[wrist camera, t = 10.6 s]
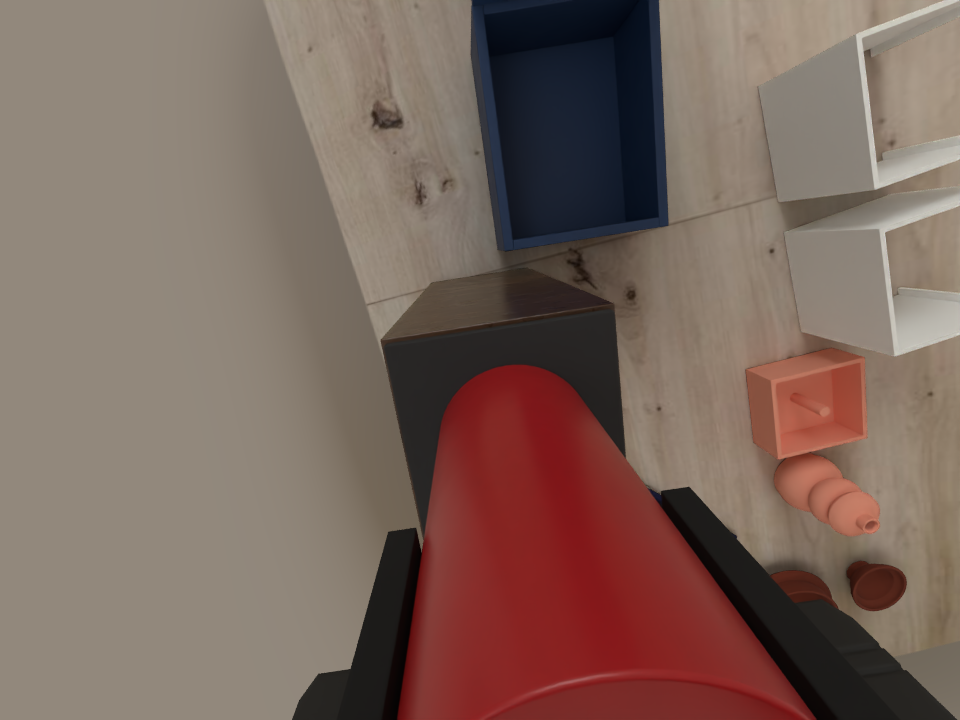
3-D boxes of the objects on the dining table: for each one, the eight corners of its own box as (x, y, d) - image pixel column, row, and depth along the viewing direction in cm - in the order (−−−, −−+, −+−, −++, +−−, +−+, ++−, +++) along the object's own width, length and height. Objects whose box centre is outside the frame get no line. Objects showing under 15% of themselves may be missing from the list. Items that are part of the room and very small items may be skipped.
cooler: (631, 228, 45) (668, 225, 37) (497, 249, 45) (504, 251, 37) (618, 29, 41) (658, -27, 32) (470, 53, 41) (471, 3, 32)
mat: (385, 343, 19) (383, 346, 18) (610, 308, 19) (614, 310, 18) (426, 537, 21) (425, 545, 21) (625, 507, 21) (630, 514, 21)
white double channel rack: (758, 86, 42) (855, 34, 32) (873, 42, 42) (1013, -26, 31) (800, 331, 48) (894, 356, 38) (902, 297, 48) (1026, 312, 37)
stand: (431, 282, 46) (380, 339, 19) (527, 267, 46) (614, 303, 19) (447, 374, 49) (423, 541, 22) (539, 360, 49) (630, 510, 21)
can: (427, 376, 19) (323, 718, 5) (583, 353, 19) (882, 636, 5) (453, 513, 21) (425, 1039, 7) (596, 492, 20) (849, 982, 7)
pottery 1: (745, 369, 49) (812, 399, 40) (831, 347, 49) (919, 373, 40) (760, 508, 54) (823, 565, 44) (839, 490, 54) (919, 543, 44)
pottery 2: (718, 577, 56) (739, 604, 52) (877, 524, 55) (911, 548, 51) (738, 647, 59) (759, 678, 55) (889, 598, 58) (923, 627, 54)
